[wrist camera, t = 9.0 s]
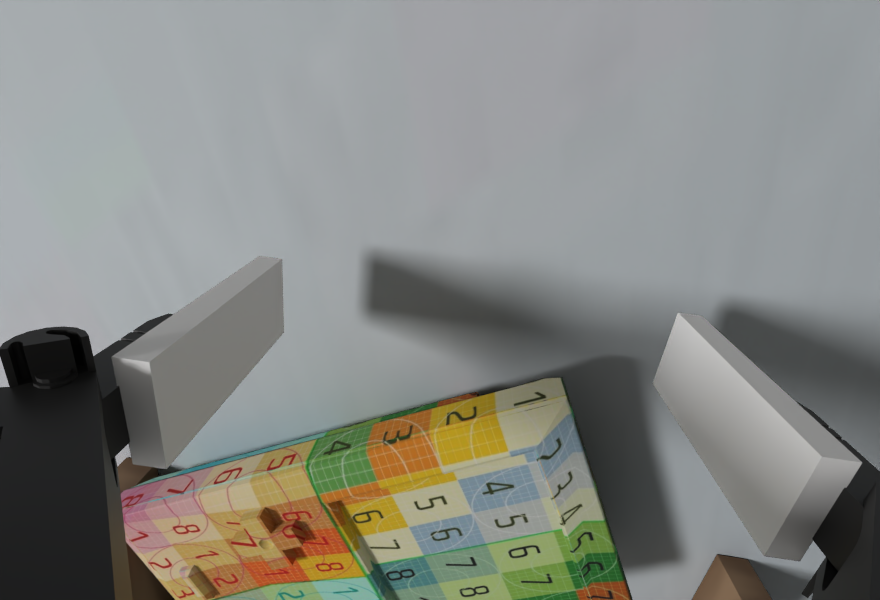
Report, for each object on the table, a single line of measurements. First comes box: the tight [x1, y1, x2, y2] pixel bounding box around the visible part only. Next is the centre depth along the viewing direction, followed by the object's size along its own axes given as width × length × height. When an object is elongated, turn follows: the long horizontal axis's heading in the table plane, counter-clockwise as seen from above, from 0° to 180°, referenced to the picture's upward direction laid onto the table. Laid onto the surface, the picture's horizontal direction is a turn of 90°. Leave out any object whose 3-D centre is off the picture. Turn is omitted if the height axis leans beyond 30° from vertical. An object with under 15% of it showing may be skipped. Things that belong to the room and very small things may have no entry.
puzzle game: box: [120, 378, 632, 600], centre depth 20 cm, size 12×5×20 cm
